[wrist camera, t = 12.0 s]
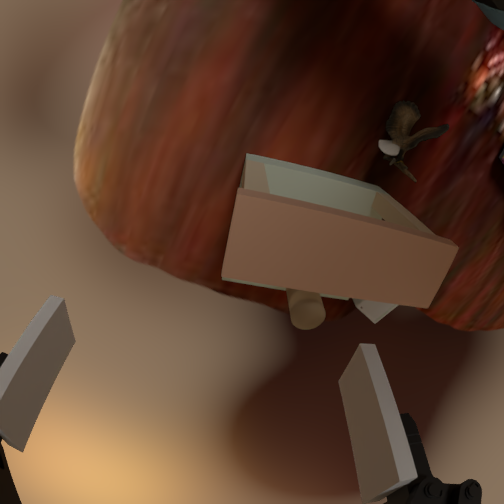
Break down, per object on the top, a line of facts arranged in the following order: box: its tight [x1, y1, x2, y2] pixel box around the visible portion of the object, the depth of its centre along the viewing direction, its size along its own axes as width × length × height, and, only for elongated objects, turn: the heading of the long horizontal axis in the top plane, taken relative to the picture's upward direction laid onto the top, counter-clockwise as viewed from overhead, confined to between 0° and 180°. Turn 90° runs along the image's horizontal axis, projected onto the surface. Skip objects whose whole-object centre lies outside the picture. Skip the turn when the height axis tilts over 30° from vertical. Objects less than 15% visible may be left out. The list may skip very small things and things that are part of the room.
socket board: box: [222, 153, 389, 300], centre depth 39 cm, size 16×18×4 cm
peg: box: [286, 288, 326, 330], centre depth 37 cm, size 4×4×14 cm
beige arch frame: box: [221, 160, 459, 308], centre depth 29 cm, size 6×19×14 cm, turn 78°
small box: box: [352, 298, 398, 323], centre depth 44 cm, size 6×6×5 cm
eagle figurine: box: [378, 101, 449, 182], centre depth 32 cm, size 8×7×9 cm
